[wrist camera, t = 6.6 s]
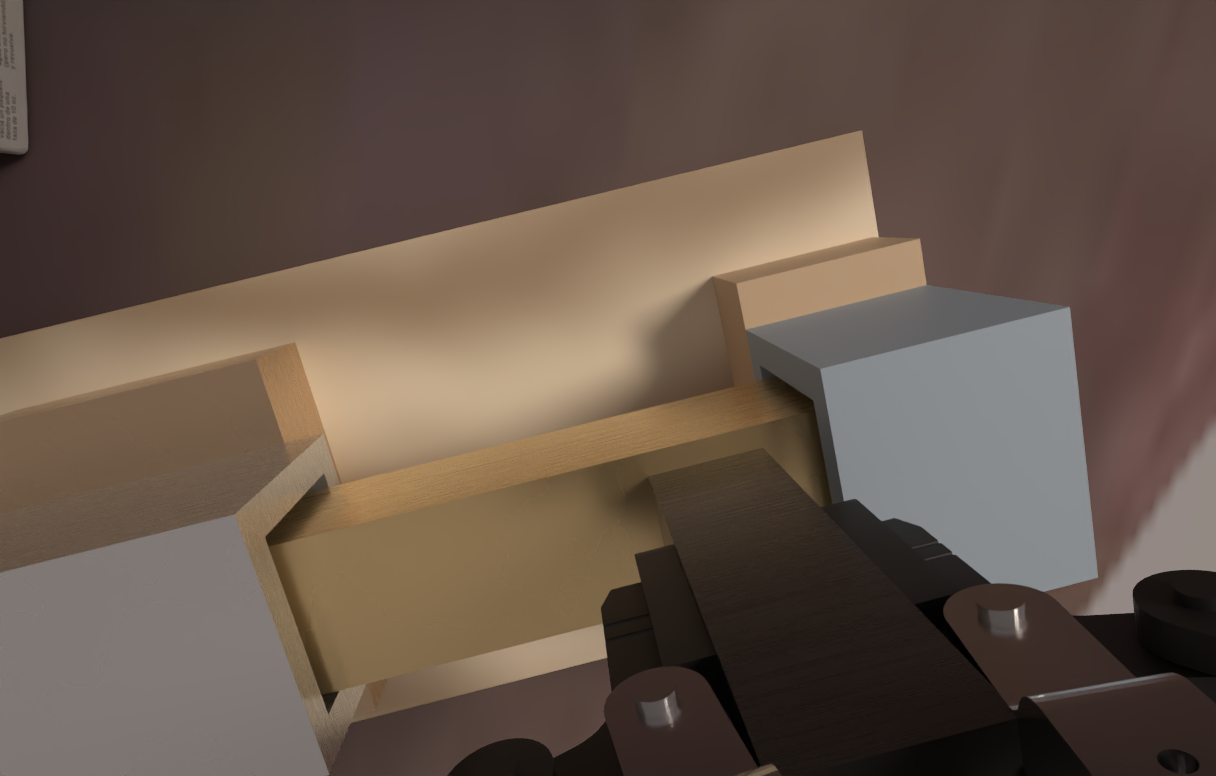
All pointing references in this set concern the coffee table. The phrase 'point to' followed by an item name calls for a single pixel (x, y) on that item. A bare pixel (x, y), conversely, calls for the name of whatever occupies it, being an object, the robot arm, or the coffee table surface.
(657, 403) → the birch board
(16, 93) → the coffee box
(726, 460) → the multicoloured piece
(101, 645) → the grey and tan block
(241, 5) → the coffee table surface
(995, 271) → the coffee table surface
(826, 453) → the slate-blue socket
